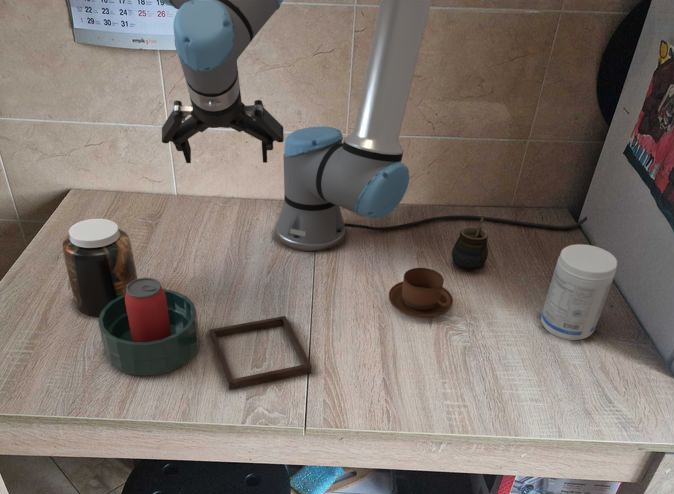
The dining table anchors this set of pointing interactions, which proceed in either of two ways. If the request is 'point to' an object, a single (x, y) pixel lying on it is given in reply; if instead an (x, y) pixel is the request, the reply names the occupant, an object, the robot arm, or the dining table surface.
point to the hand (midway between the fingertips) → (226, 155)
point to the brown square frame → (266, 376)
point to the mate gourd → (471, 248)
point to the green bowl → (154, 353)
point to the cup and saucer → (421, 294)
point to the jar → (98, 263)
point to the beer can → (147, 310)
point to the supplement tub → (578, 291)
